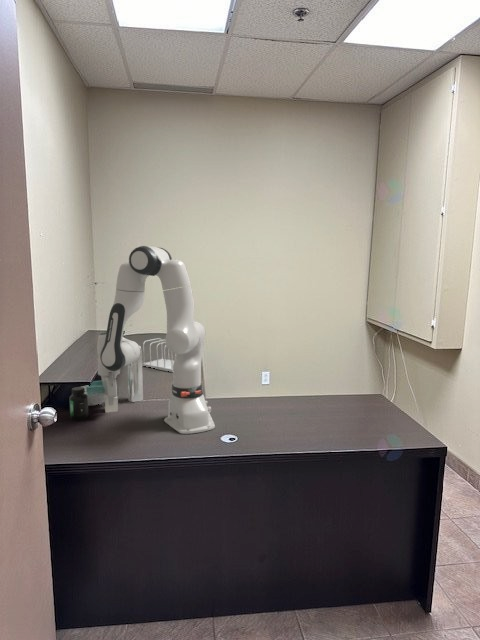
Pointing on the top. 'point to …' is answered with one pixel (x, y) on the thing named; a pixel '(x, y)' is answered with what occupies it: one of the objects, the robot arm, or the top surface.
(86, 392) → the motor housing
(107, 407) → the pump block
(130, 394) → the silver metal cylinder
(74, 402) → the supplement bottle
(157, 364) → the file sorter
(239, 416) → the top surface
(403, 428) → the top surface
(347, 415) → the top surface
